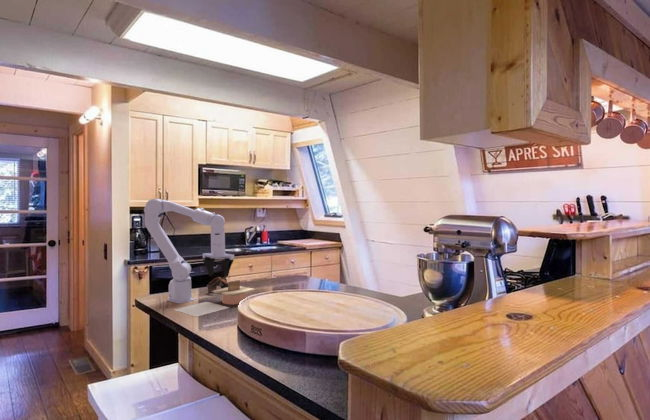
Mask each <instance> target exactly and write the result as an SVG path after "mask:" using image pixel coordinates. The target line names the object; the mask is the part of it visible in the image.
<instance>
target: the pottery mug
mask: <svg viewBox="0 0 650 420" xmlns="http://www.w3.org/2000/svg"><path fill="white" fill-rule="evenodd" d="M228 282H229V281H228V280H227V279H226V277H221V276H218V277H215V278H213V279H212V280H211V281H210V282H208V284H207V285H206V288H207V292H208V293H211V292H213V290H218V288H217V286H218V287H220V289H222V288H226V287H228Z"/></svg>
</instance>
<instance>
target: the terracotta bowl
mask: <svg viewBox="0 0 650 420" xmlns="http://www.w3.org/2000/svg"><path fill="white" fill-rule="evenodd" d="M246 297H247V298H248V292H247V293H243V294H239V295H235V296H229V295H225V294H221V303H222V304H225V305H239V304H238V303H239V302H240V301H241V300H243V299H245V298H246Z"/></svg>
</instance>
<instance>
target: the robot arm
mask: <svg viewBox="0 0 650 420" xmlns="http://www.w3.org/2000/svg"><path fill="white" fill-rule="evenodd" d="M143 211H144V226H145V228H146V229H147V231H148V232H149V234H150V235H151V237H152V238H153V240H154V242H155V243H156V245H157V246H158V248H159V249H160V251H161V253H162V254H163V257H165V259H166V260H167V262H168V265H169V269H170V271H171V276H172V279H171V280H170V281H169V283H168V299H166V300H167V302H172V303H176V304H182V303H183V304H184V303H187V302H192V301H196V300H197V298H194V297H192V277H191V276H190V274H191V272H192V266H191V264H190V263H189V262H187V261H185V259H184V258H183V257H182V256H181V255H180V254H179V253H178V250H177V249H176V247H175V246H174V244H173V242H172V241H171V239H170V238H169V237H168V235H167V233H166V231H165V230H164V228H162V226H161V224H160V221H161V218H162V216H163V215H164V213H167V212H175V213H178V214H181V215H183V216H187V217H190V218H191V220H192V221H193V222H194V223H195V222H196V223H199V224H201V225H204V226H206V227H208V226H210V252H207V253H206V252H205V253H204V252H203V253H202V262H203V263H204V266H205V267H206V270H207V273H208V274H207V275H208V276H210V277H212V276H214V268H215V267H214V266H215V261H216V259H218V260H221V263H222V264H221V265H222V267H223V268H222V269H223V278H226V277H229V275H230V270H231V268H232V265H233V262H235V261H234V260H235V254H234V253H233V254H231V253H226V232H225V224H226V221H225V217H224V216H222V215H221V214H216V212H214V211H213V212H210V211H208V210H205V208H204V207H200V208H199V207H198V208H195V209H193V208H190V207H188V206H184V205H182V204H179V203H177V202H176V201H175V202H174V201H172V200H168V199H167V200H166V199H165V200H164V199H162V198H151V199H149V200H148V201H147V202H146V203H145V205H144V208H143Z"/></svg>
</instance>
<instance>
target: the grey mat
mask: <svg viewBox="0 0 650 420" xmlns="http://www.w3.org/2000/svg"><path fill="white" fill-rule="evenodd" d="M226 309H230V306H229V307H228V306H224V305H221V304H219V303H218V304H217V303H214V302H209V301H204V302H199V303H196V304H191V305H188V306H182V307H179V308H178V307H177V308H174V309H173V311H176V312H179V313H183V314H186V315H190V316H191V317H192V316H193V317H200V316H203V315H208V314H211V313H215V312H219V311H222V310H223V311H224V310H226Z"/></svg>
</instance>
